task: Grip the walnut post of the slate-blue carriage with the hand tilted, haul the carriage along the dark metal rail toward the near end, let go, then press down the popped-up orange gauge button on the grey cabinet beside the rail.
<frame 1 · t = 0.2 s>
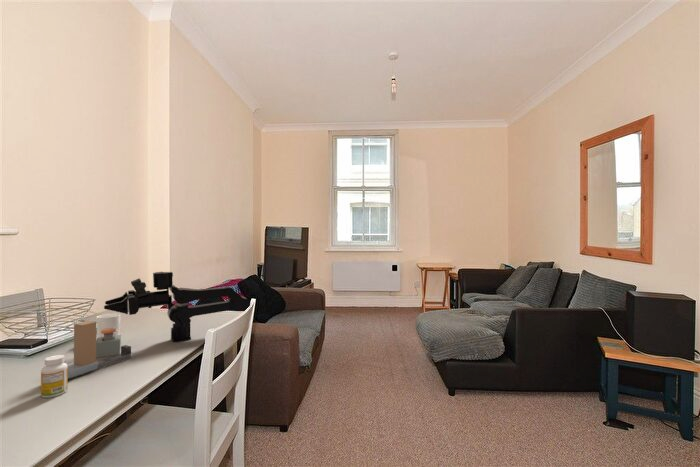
hand: (104, 305, 124), 17 cm above the table, tool horizontal, fingers open, 9 cm apart
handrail: (93, 369, 107), on the table
supplement bottle: (54, 394, 91), on the table
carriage: (77, 348, 103), point 8 cm above the table, slide at 0.0 cm
gauge cabinet: (108, 352, 122), on the table
gauge button: (108, 337, 122), point 5 cm above the table, slide at 0.0 cm
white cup: (108, 340, 136), on the table
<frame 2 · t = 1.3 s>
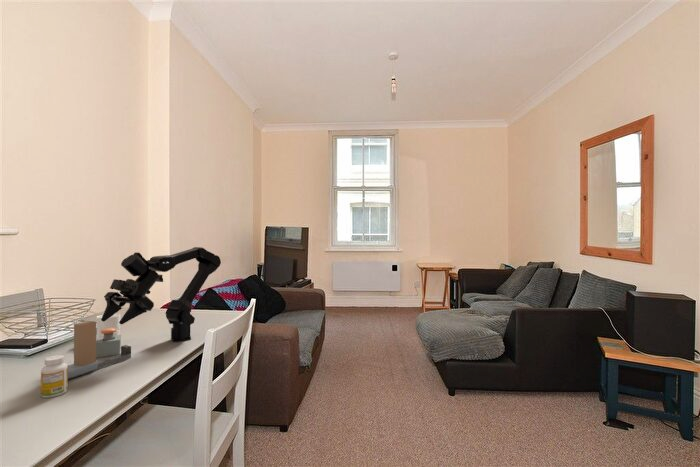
hand: (111, 322, 112), 14 cm above the table, tool tilted 45°, fingers open, 9 cm apart
nothing on the table moved.
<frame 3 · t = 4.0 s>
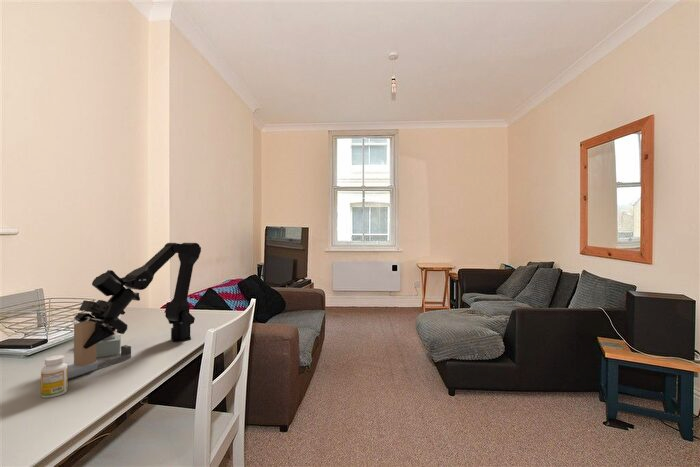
hand: (80, 347, 104), 8 cm above the table, tool tilted 45°, fingers closed on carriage, 4 cm apart
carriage: (77, 348, 103), point 8 cm above the table, slide at 0.0 cm, touching gripper
everything else where it was.
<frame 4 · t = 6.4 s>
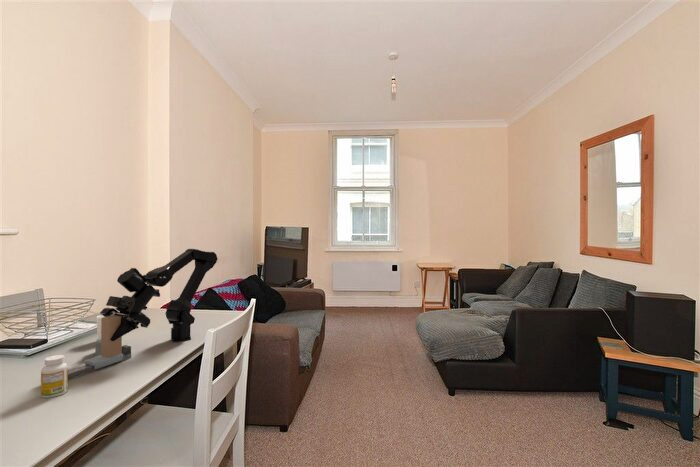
hand: (107, 339, 111), 8 cm above the table, tool tilted 45°, fingers closed on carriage, 4 cm apart
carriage: (104, 340, 110), point 8 cm above the table, slide at 7.9 cm, touching gripper
everything else where it was.
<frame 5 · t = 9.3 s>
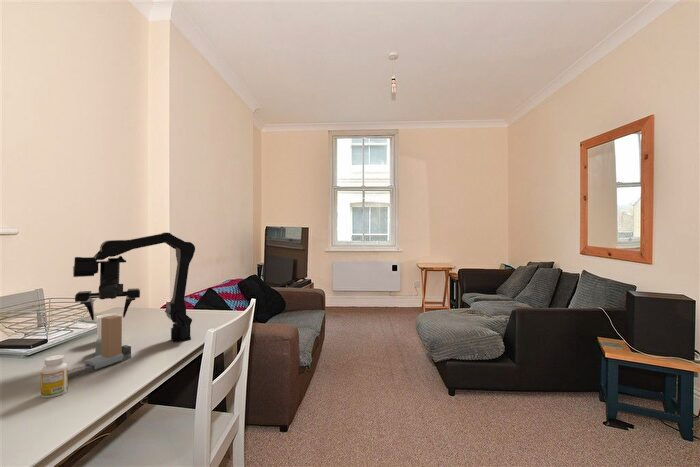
hand: (108, 318, 121), 12 cm above the table, tool pointing down, fingers open, 9 cm apart
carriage: (104, 340, 110), point 8 cm above the table, slide at 7.9 cm
everything else where it was.
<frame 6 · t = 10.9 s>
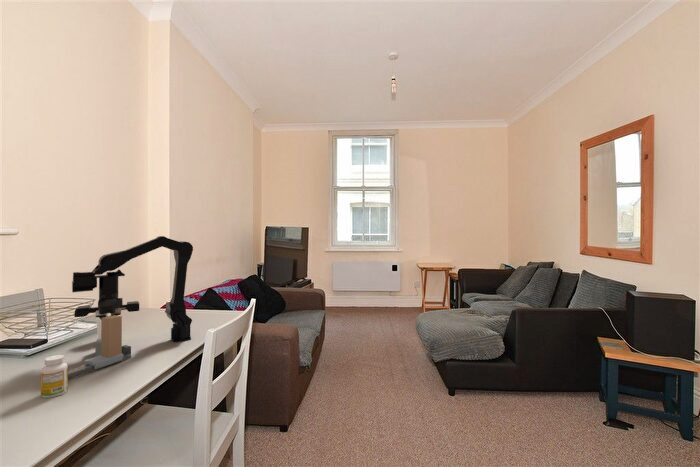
hand: (108, 332, 122), 7 cm above the table, tool pointing down, fingers closed, pressing on gauge button
gauge button: (108, 340, 122), point 4 cm above the table, slide at 1.1 cm, touching gripper
everything else where it was.
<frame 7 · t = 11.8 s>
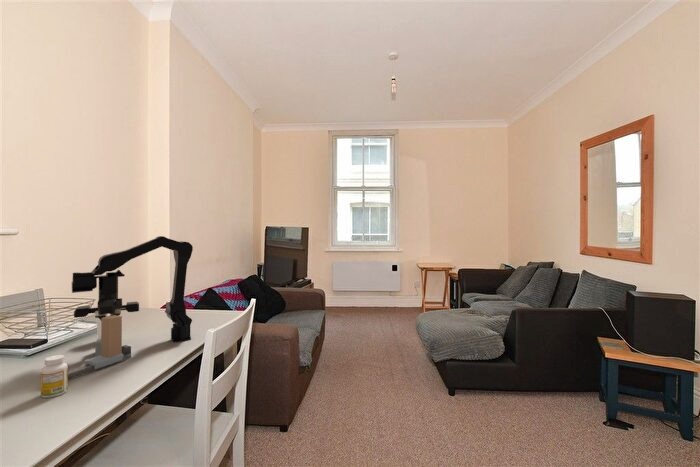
hand: (108, 333, 122), 7 cm above the table, tool pointing down, fingers closed
gauge button: (108, 343, 122), point 3 cm above the table, slide at 2.0 cm
everything else where it was.
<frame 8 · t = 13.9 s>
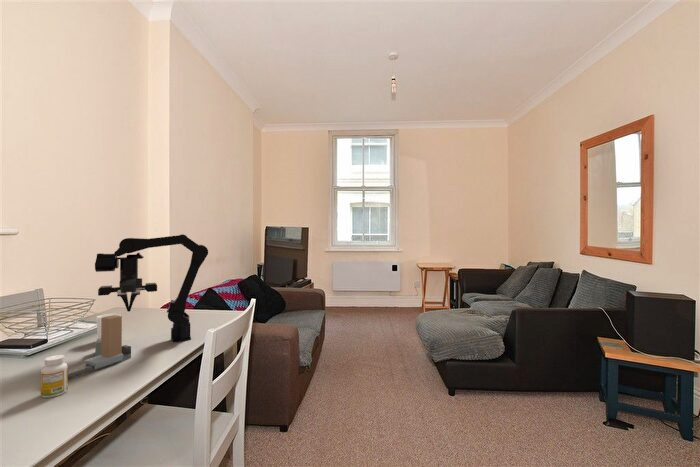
hand: (128, 311, 130), 13 cm above the table, tool pointing down, fingers closed
nothing on the table moved.
at the end: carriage slide at 7.9 cm; gauge button slide at 2.0 cm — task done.
